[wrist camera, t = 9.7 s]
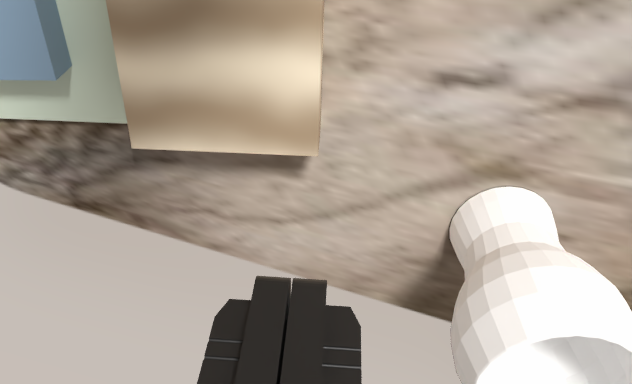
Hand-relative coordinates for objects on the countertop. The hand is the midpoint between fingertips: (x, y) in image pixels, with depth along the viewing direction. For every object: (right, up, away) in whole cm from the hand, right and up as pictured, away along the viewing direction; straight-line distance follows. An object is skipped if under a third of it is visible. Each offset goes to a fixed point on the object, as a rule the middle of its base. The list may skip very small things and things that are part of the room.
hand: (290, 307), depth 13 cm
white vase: (+15, 0, +32) cm, 35 cm away
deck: (-5, +15, +23) cm, 28 cm away
